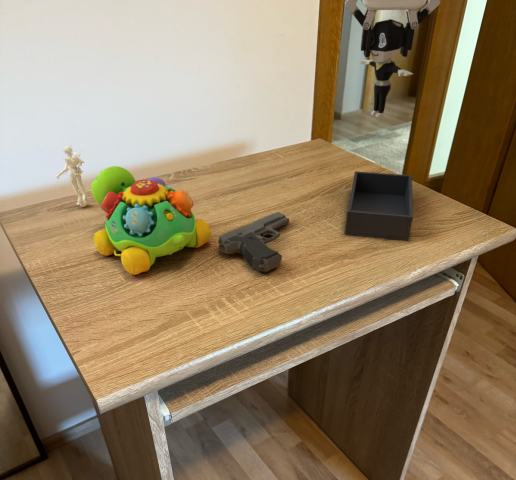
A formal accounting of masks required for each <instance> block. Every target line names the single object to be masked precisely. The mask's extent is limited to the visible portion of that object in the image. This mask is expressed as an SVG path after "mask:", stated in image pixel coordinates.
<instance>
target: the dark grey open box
mask: <svg viewBox="0 0 516 480" xmlns="http://www.w3.org/2000/svg"><path fill="white" fill-rule="evenodd" d="M413 201H414V200H413V175H412V174H411V175H410V174H397V173H382V172H368V171H359V170H358V171H356V170H355V171H354V174H353V179H352V183H351V189H350V194H349V199H348V206H347V211H346V219H345V227H344V235H346V236H357V237H369V238H378V239H390V240H397V241H398V240H399V241H409V237H410V235H411V230H412V225H413V224H412V223H413V220H414V205H413V204H414V203H413Z"/></svg>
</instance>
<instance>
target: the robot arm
mask: <svg viewBox="0 0 516 480" xmlns="http://www.w3.org/2000/svg"><path fill="white" fill-rule="evenodd" d="M357 2H358V0H345V1H344V5H345V7H346V9H348V11H349V12H350V13H351V15H352V16H353V17H354V18H355V19H356V21H357V22H358V23H359V25H360V26H361V27H362V30H361V31H362V33H361V42H360V51H361V52H363V56H364V57H365V58H369V57H371V53H370V50H371V41H372V33H373V31H372V29H373V28H372V27H373V26H372V23H373V21H374V18H375V16H376V14H377V12H378V11H403V10H405V15H406V24H405V26H404V30H405V41H404V45H403V47H402V48H401V49H400V50H399V54H400V55H401V56H402V57H403V58H407V57H408V55H409V51H412V49H413V44H414V37H415V31H416V29H417V28H418V27H419V25H420V24H421V23H422V22H423V21H424V20H425V19H427V18H428V16H429V15H430V14H431V13H432V12H433V11H435V9H436V8H437V7H439V6H440V4H441V0H360V2H361V4H362V5H363V6H364V7H365V8H366V10H365V12H364V13H363V12H362V11H361V9H360V8H359V7H358V5H357ZM418 9H419V10H418ZM417 10H418V11H417Z"/></svg>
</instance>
